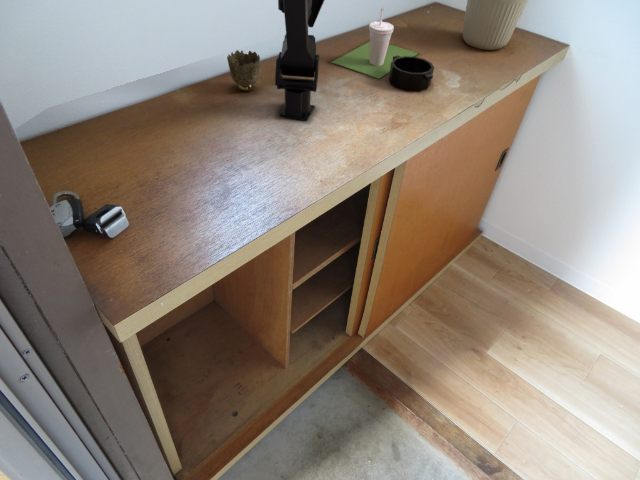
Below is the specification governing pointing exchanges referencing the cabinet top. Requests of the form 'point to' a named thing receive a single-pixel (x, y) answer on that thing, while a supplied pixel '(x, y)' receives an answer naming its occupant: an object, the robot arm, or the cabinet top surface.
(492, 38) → the canister
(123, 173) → the cabinet top surface
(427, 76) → the pot
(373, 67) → the cloth
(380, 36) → the smoothie
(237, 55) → the cup
